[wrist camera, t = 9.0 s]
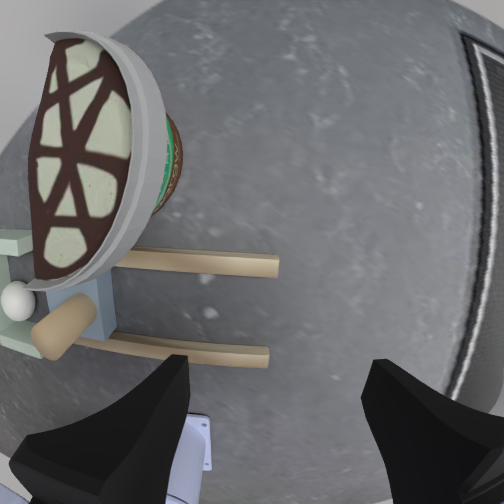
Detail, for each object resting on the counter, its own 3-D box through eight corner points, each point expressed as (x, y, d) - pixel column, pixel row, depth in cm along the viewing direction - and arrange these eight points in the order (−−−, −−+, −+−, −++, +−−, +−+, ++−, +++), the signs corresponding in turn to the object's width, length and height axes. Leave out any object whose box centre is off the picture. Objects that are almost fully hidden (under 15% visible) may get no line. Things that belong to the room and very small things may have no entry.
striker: (117, 326, 21) (74, 381, 14) (67, 317, 21) (18, 363, 14) (110, 266, 20) (55, 308, 13) (59, 261, 20) (-1, 295, 13)
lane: (266, 359, 22) (267, 368, 21) (63, 332, 22) (56, 339, 20) (277, 254, 20) (279, 259, 19) (48, 240, 20) (40, 244, 18)
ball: (45, 297, 22) (38, 321, 19) (21, 310, 21) (12, 334, 18) (25, 267, 20) (14, 289, 17) (1, 282, 19) (-11, 304, 16)
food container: (192, 256, 20) (144, 328, 10) (111, 247, 20) (24, 300, 10) (212, 76, 17) (179, -2, 7) (127, 77, 17) (47, 23, 7)
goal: (60, 339, 22) (41, 359, 18) (14, 326, 22) (-6, 342, 18) (43, 230, 19) (17, 240, 16) (-3, 228, 19) (-28, 236, 16)
